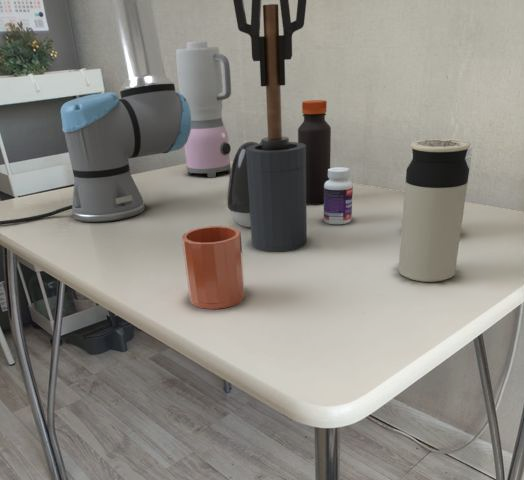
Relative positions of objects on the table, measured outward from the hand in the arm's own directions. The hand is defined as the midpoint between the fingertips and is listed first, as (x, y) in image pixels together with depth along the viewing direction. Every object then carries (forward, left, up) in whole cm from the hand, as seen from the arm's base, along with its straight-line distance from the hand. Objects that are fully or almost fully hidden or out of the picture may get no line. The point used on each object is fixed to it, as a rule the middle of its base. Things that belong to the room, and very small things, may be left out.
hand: (273, 84), depth 81 cm
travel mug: (+22, -16, -25) cm, 37 cm away
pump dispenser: (-5, +12, -25) cm, 28 cm away
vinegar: (+7, +28, -25) cm, 38 cm away
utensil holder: (0, 0, -25) cm, 25 cm away
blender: (-20, +62, -25) cm, 70 cm away
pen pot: (-8, -23, -25) cm, 35 cm away
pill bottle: (+11, +12, -25) cm, 30 cm away
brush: (0, 0, -14) cm, 14 cm away
